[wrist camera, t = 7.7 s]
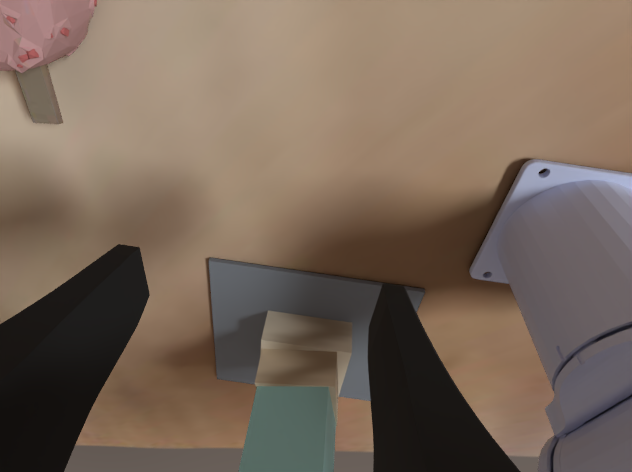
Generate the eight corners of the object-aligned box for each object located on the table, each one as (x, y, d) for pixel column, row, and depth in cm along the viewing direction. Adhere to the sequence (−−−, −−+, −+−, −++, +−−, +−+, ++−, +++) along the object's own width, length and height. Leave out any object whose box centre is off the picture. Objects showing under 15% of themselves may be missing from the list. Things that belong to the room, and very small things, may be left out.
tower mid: (337, 351, 26) (335, 386, 24) (338, 392, 29) (336, 426, 27) (262, 348, 26) (254, 383, 24) (271, 389, 30) (265, 422, 28)
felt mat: (424, 288, 26) (425, 292, 25) (377, 398, 34) (377, 402, 34) (209, 257, 25) (208, 260, 25) (218, 375, 34) (217, 378, 34)
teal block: (328, 386, 24) (322, 476, 20) (335, 422, 27) (331, 508, 23) (257, 386, 25) (238, 473, 21) (271, 421, 27) (257, 504, 24)
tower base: (352, 322, 28) (351, 353, 26) (338, 369, 32) (337, 399, 30) (267, 310, 28) (261, 339, 26) (264, 358, 32) (258, 388, 30)
